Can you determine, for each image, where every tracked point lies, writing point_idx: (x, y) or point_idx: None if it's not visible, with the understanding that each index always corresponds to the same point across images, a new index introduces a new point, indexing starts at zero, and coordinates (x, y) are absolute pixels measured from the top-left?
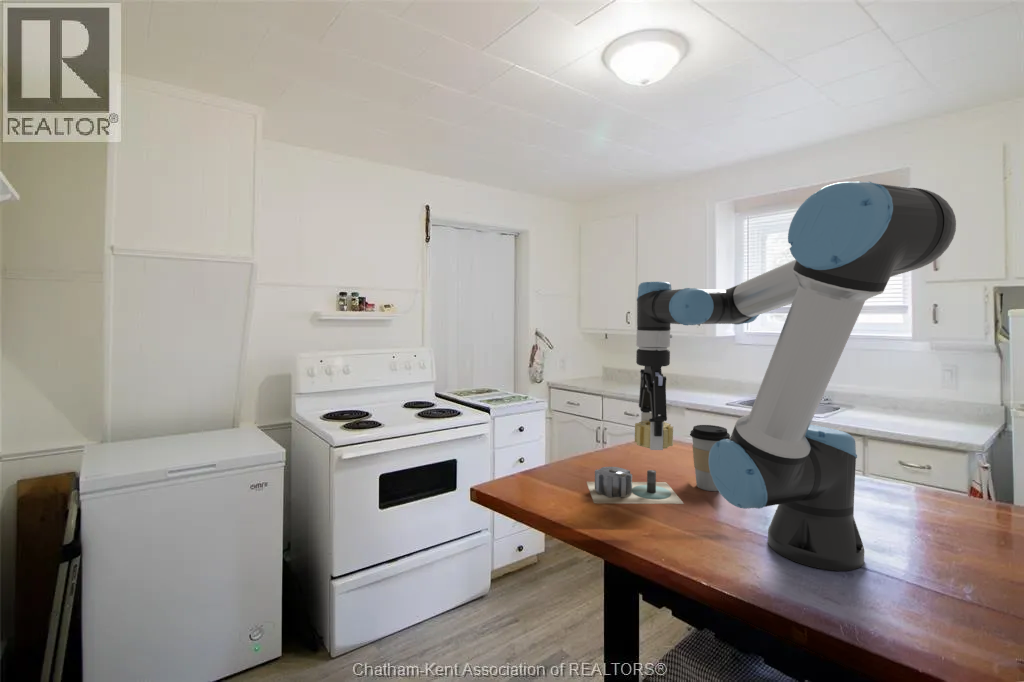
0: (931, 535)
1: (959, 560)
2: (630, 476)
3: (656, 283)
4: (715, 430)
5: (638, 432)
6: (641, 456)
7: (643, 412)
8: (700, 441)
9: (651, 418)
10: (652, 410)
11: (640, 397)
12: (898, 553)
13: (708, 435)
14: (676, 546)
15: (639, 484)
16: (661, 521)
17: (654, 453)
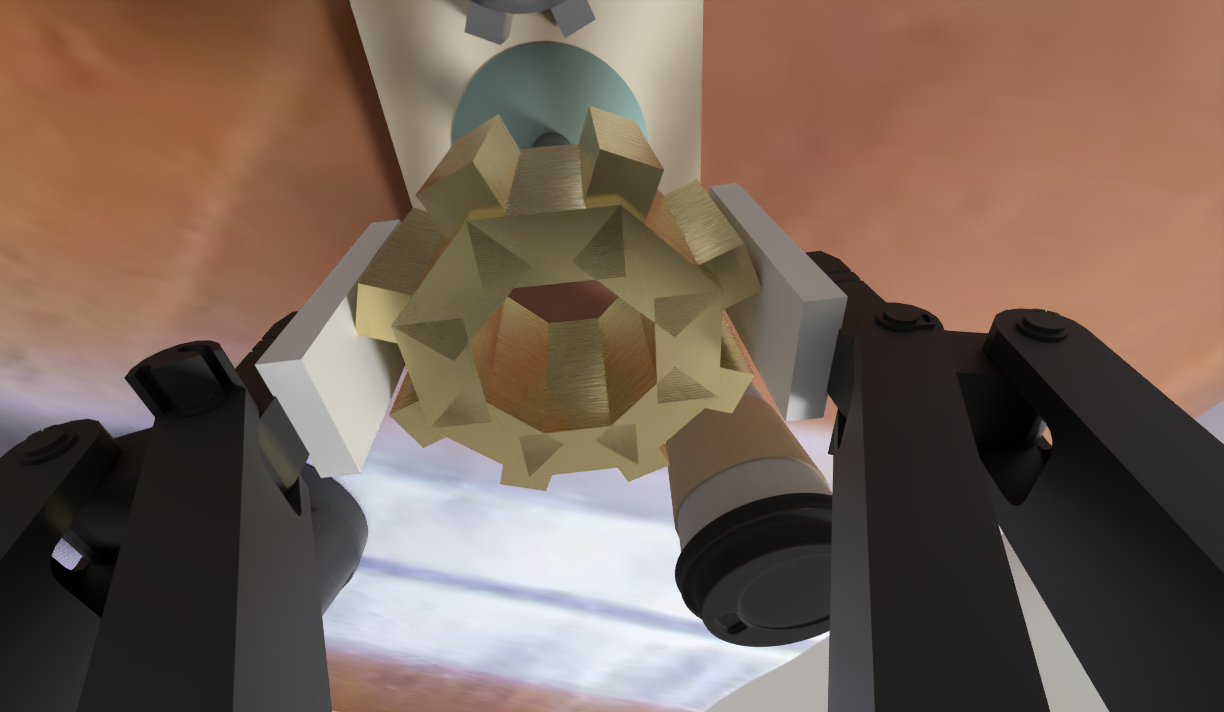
0: (446, 677)
1: (338, 677)
2: (466, 26)
3: None
4: (738, 614)
5: (457, 158)
6: (1159, 188)
7: (835, 325)
8: (719, 511)
9: (764, 368)
10: (148, 497)
11: (1108, 432)
12: (326, 627)
13: (702, 571)
14: (28, 172)
15: (661, 106)
16: (276, 151)
17: (1169, 259)
